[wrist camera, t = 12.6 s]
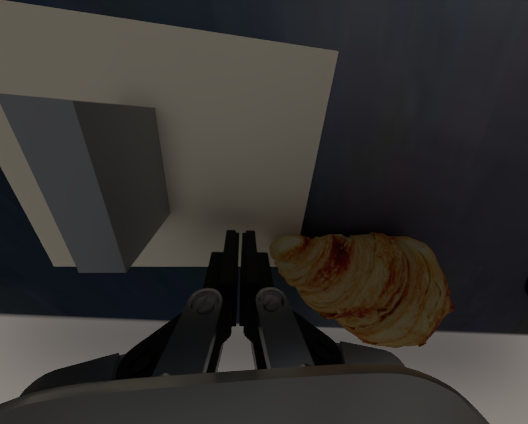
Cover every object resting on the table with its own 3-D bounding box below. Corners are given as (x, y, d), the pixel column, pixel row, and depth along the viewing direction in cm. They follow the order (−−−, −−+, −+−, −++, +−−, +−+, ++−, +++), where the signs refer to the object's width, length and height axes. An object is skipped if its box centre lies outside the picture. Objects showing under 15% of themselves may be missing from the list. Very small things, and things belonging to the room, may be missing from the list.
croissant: (250, 238, 20) (236, 326, 15) (308, 174, 12) (318, 308, 7) (393, 284, 26) (416, 357, 21) (489, 259, 18) (560, 364, 13)
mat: (333, 54, 11) (338, 51, 11) (291, 262, 18) (293, 266, 18) (-77, -8, 9) (-98, -16, 8) (60, 261, 16) (54, 266, 15)
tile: (154, 107, 11) (72, 100, 6) (170, 213, 14) (126, 272, 9) (117, 104, 11) (-5, 92, 5) (141, 212, 14) (78, 272, 9)
